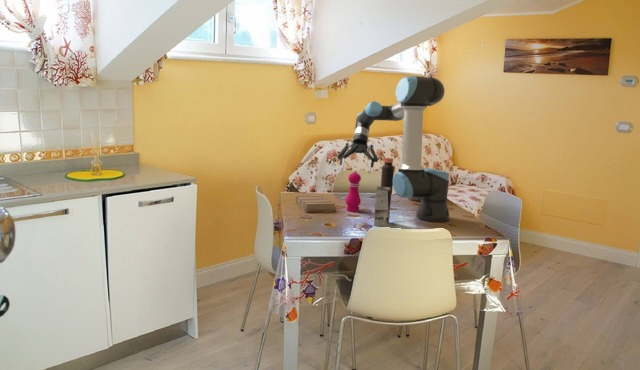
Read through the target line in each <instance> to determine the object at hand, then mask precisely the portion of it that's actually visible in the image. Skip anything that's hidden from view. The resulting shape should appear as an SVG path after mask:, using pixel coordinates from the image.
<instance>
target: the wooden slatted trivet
mask: <svg viewBox="0 0 640 370" xmlns="http://www.w3.org/2000/svg"><path fill="white" fill-rule="evenodd" d="M295 204H296V205H297V206H298V207H299V208H300V209H301V210H303V211H304V212H305V213H335V208H336V204H335V202H333V201H332V200H331V199H329V198H327V197H326V196H324V194H308V195H307V194H306V195H305V194H297V195H295Z"/></svg>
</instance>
